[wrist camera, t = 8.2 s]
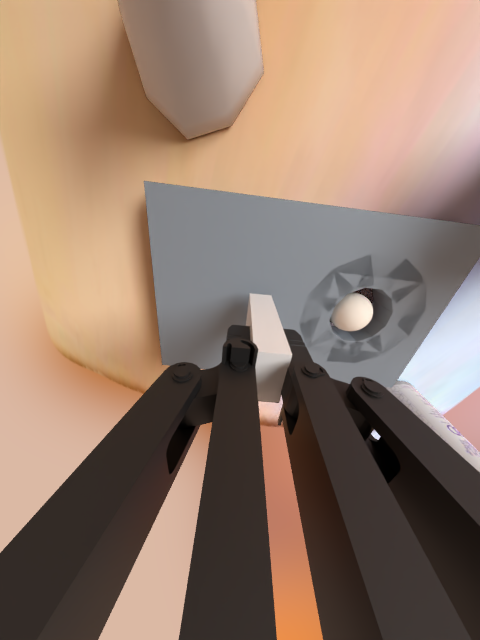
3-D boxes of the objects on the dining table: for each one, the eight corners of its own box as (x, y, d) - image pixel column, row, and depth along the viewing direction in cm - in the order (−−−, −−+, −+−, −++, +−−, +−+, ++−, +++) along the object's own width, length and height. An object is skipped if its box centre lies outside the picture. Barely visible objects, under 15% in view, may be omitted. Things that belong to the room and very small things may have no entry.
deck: (160, 187, 13) (143, 180, 11) (459, 226, 14) (499, 227, 12) (171, 348, 20) (162, 364, 18) (375, 369, 21) (391, 387, 18)
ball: (326, 288, 16) (358, 303, 13) (354, 285, 17) (390, 300, 14) (316, 321, 17) (343, 341, 15) (342, 317, 18) (373, 335, 16)
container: (421, 382, 21) (711, 648, 8) (401, 409, 24) (604, 655, 10) (380, 379, 21) (605, 642, 8) (364, 407, 23) (520, 651, 10)
